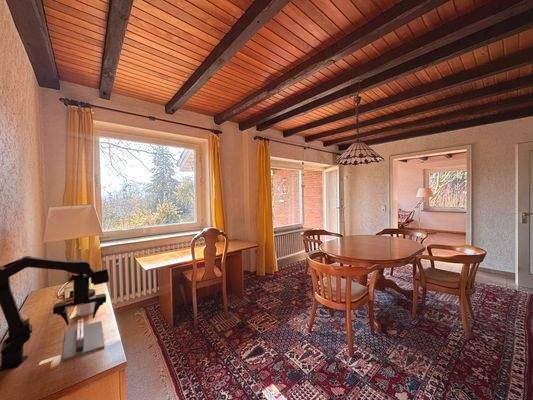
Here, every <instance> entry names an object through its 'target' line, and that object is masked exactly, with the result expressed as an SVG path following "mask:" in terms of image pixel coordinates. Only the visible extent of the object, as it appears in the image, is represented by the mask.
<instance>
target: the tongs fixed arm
mask: <svg viewBox="0 0 533 400" xmlns="http://www.w3.org/2000/svg"><path fill="white" fill-rule="evenodd" d="M80 326H81V319H78V320H77V327H78V330H77V341H76V352H80V351H82V350H83V349H84V339H83V338H81V339H80Z"/></svg>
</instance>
